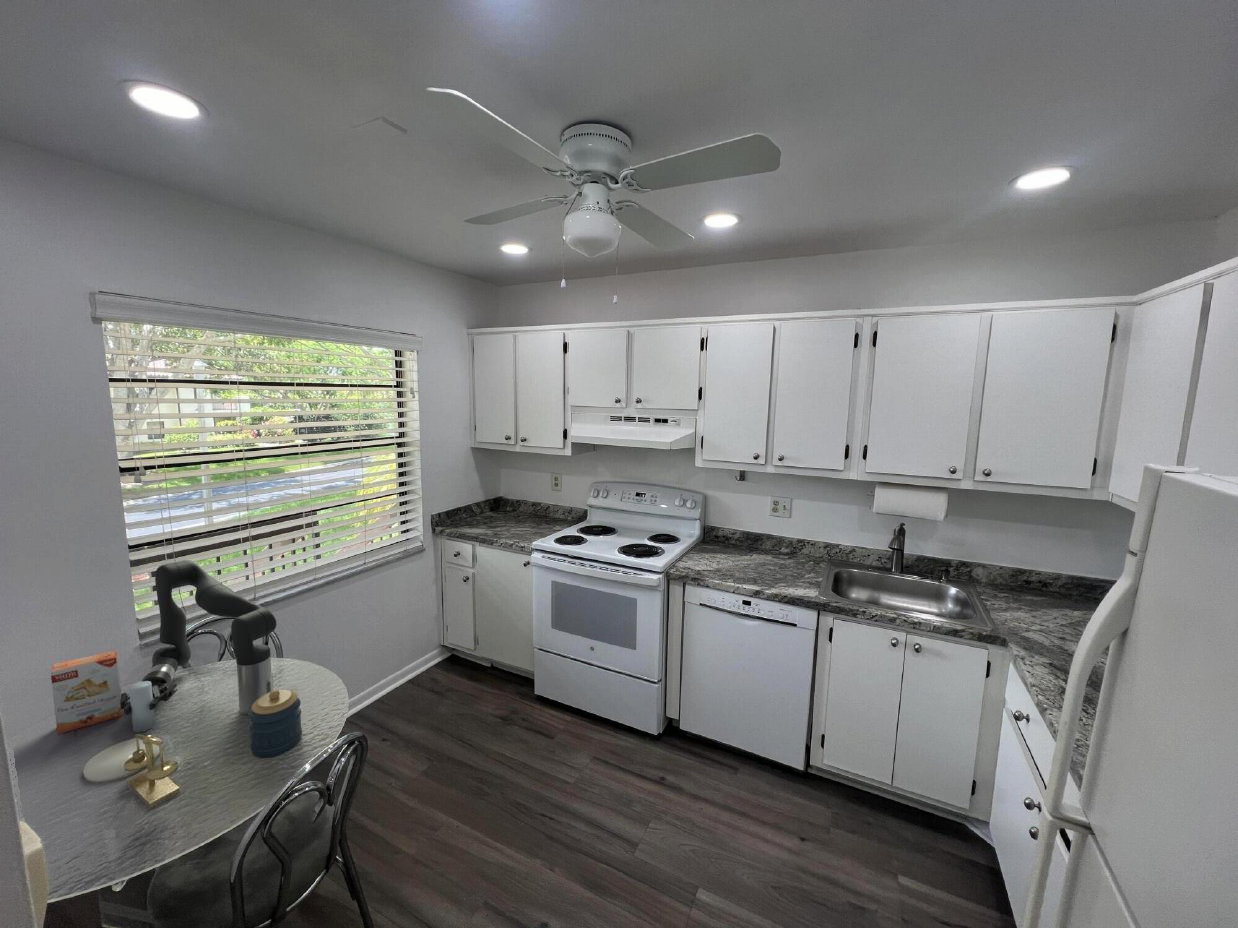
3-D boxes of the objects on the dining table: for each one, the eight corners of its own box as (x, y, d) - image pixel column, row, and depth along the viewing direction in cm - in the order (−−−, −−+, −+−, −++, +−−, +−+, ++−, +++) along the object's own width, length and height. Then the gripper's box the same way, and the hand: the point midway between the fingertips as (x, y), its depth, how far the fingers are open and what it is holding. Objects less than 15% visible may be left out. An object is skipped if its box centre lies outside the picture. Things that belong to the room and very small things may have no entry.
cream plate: (170, 734, 152) (169, 730, 151) (152, 770, 138) (152, 765, 138) (98, 751, 144) (97, 746, 144) (72, 790, 130) (71, 785, 130)
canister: (312, 733, 155) (310, 682, 153) (275, 763, 143) (272, 707, 140) (278, 725, 158) (276, 675, 155) (239, 753, 145) (235, 699, 143)
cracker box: (57, 735, 149) (49, 671, 146) (59, 725, 153) (52, 663, 150) (122, 716, 159) (116, 656, 156) (123, 707, 163) (117, 648, 160)
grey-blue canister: (157, 719, 158) (153, 679, 156) (152, 729, 154) (148, 687, 152) (136, 723, 156) (132, 683, 154) (130, 733, 151) (126, 692, 149)
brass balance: (185, 797, 130) (180, 739, 127) (155, 814, 124) (149, 753, 122) (150, 765, 140) (145, 710, 137) (121, 779, 134) (115, 722, 132)
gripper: (127, 675, 162) (105, 704, 147) (183, 665, 169) (168, 692, 154) (129, 696, 163) (108, 727, 148) (185, 685, 170) (170, 714, 155)
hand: (139, 709), depth 151 cm, fingers closed on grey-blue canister, 5 cm apart
